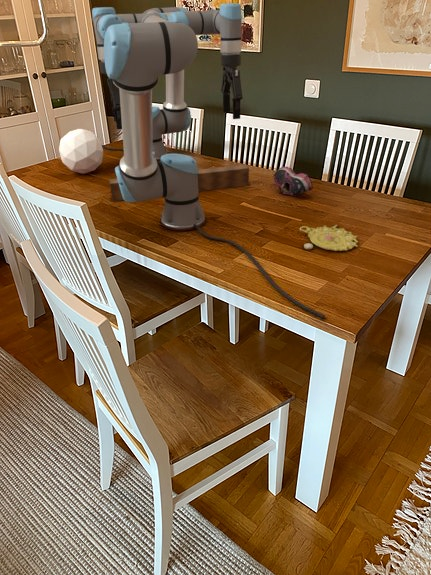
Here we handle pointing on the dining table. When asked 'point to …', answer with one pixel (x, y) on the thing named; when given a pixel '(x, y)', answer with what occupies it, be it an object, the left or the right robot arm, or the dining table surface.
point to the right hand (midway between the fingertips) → (119, 124)
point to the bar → (205, 179)
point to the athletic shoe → (292, 181)
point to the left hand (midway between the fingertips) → (231, 115)
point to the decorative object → (330, 238)
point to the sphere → (81, 151)
